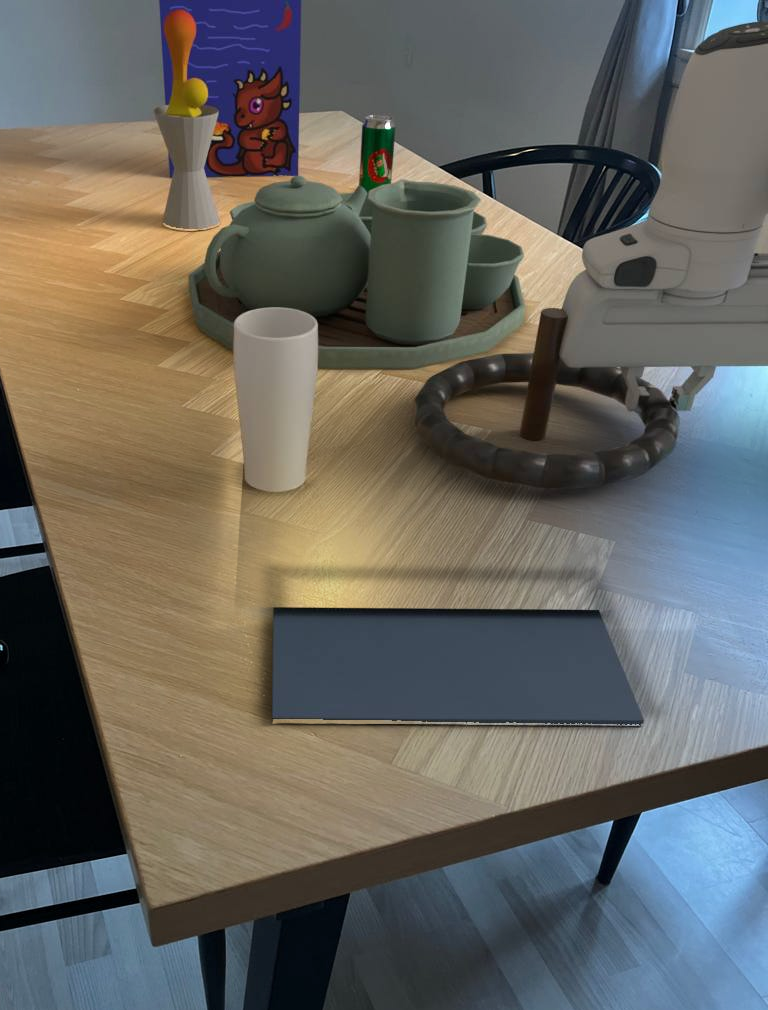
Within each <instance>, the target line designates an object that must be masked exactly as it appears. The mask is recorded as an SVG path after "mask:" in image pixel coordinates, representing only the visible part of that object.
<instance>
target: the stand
mask: <svg viewBox="0 0 768 1010" xmlns="http://www.w3.org/2000/svg"><path fill="white" fill-rule="evenodd" d="M567 318H568V315H567V314H566V312H565V310H563V309H562V308H558V307H546V308H543V309H542V310H541V311H540V316H539V321H538V326H537V332H536V339H535V344H534V349H533V353H534V354H533V360H532V365H531V371H530V376H529V382H527V388H526V394H525V399H524V405H523V410H522V416H521V422H520V427H519V433H518V434H519V435H518V436H519V437H520V438H521V439H522V440H525V441H528V442H533V443H534V442H541V441H543V440H545V439H546V435H547V431H548V425H549V420H550V414H551V410H552V405H553V400H554V396H555V389H556V385H557V384H556V380H557V375H558V370H559V365H560V360H561V358H560V356H559V351H560V346H561V342H562V337H563V333H564V329H565V325H566V322H567Z"/></svg>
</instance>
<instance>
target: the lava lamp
mask: <svg viewBox="0 0 768 1010" xmlns="http://www.w3.org/2000/svg"><path fill="white" fill-rule="evenodd" d="M164 33H165V37H166V40H167V43H168V46H169V49H170V54H171V59H172V63H173V87H172V95H171V99H170V102H169V105H161V106H157V107H156V108H154V109H153V113H154V117H155V119H156V123H157V126H158V127H159V131H160V134H161V136H162V139H163V141H164V144H165V147H166V149H167V152H169V155H170V158H171V161H172V163H173V166H174V172H173V176H172V178H171V181H170V186H169V189H168V190H169V191H168V194H167V200H166V204H165V209H164V213H163V217H162V222H163V223H165V224H166V225H169V226H171V227H176V228H183V229H203V228H208V227H211V226H215V225H217V224H218V223H219V222H221V219H220V217H219V213H218V209H217V206H216V203H215V200H214V197H213V193H212V191H211V187H210V184H209V181H208V177H206V174H205V171H204V166H205V162H206V158H207V154H208V151H209V147H210V143H211V140H212V136H213V132H214V129H215V125H216V121H217V117H218V113H219V110H218V109H217V108H215V107H212V106H208V105H204V104H205V102H206V101H207V98H208V89H207V86H206V84H205V83H204V82H203V81H202V80H200V79H198V78H191V79H189V80H187V63H188V59H189V54H190V50H191V47H192V44H193V41H194V38H195V35H196V24H195V21H194V19H193V17H192V16H191V15H190V14H189V13H188V12H186V11H184V10H180V9H178V10H174V11H172V12H170V13H169V14H168V15H167V17H166V19H165V22H164ZM163 223H162V224H163Z"/></svg>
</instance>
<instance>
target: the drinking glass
mask: <svg viewBox="0 0 768 1010" xmlns="http://www.w3.org/2000/svg"><path fill="white" fill-rule="evenodd" d="M232 353H233V355H232V356H233V359H232V360H233V375H234V385H235V393H236V403H237V410H238V411H237V413H238V422H239V429H240V438H241V447H242V448H241V449H242V458H243V467H244V468H243V469H244V470H243V471H244V480H245V482H246V483H247V484H248V485H249V486H250V487H252V488H254V489H257V490H259V491H263V492H271V493H272V492H273V493H282V492H289V491H291V490H294V489H297V488H299V487H300V486H302V485H303V484H304V483H305V481H306V479H307V465H308V455H309V446H310V439H311V438H310V437H311V430H312V421H313V413H314V405H315V404H314V403H315V398H316V389H317V381H318V369H319V368H318V322H317V320H316V319H315V318H314V317H313V316H311V315H310V314H308V313H306V312H303V311H300V310H296V309H290V308H281V307H269V308H260V309H255V310H251V311H248V312H245V313H243V314H241V315H240V316H238V317H237V318H236V320H235V321H234V337H233V351H232Z"/></svg>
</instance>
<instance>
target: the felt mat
mask: <svg viewBox="0 0 768 1010" xmlns="http://www.w3.org/2000/svg"><path fill="white" fill-rule="evenodd" d="M272 611H273V613H272V614H273V616H272V617H273V619H272V678H271V679H272V681H271V683H272V686H271V692H272V694H271V720H272V719H323V720H392V721H397V720H401V721H422V722H426V721H427V722H466V723H467V722H474V723H476V722H479V723H506V722H509V723H513V722H516V723H545V724H547V723H551V724H553V723H554V724H558V723H560V724H564V723H566V724H570V723H571V724H575V723H577V724H578V723H579V724H580V723H582V724H586V723H588V724H591V723H592V724H617V725H618V724H620V725H622V724H625V725H627V724H630V725H632V724H635V725H636V724H639V725H641V724H643V725H644V722H645V718H644V715H643V714H642V712H641V709H640V707H639V704H638V702H637V699H636V696H635V695H634V693H633V692H634V691H633V689H632V687H631V685H630V682H629V680H628V677H627V675H626V672H625V670H624V667H623V666H622V662H621V660H620V657H619V655H618V652H617V650H616V648H615V645H614V643H613V640H612V638H611V635H610V632H609V631H608V628H607V626H606V623H605V621H604V619H603V616H602V614H601V611H600V609H560V608H559V609H558V608H557V609H556V608H555V609H554V608H553V609H552V608H550V609H549V608H546V609H544V608H543V609H542V608H541V609H540V608H435V607H434V608H432V607H431V608H430V607H429V608H425V607H421V608H420V607H413V608H412V607H411V608H410V607H312V606H311V607H310V606H309V607H307V606H304V607H303V606H299V607H298V606H297V607H296V606H295V607H294V606H293V607H292V606H289V607H288V606H273V610H272Z"/></svg>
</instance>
